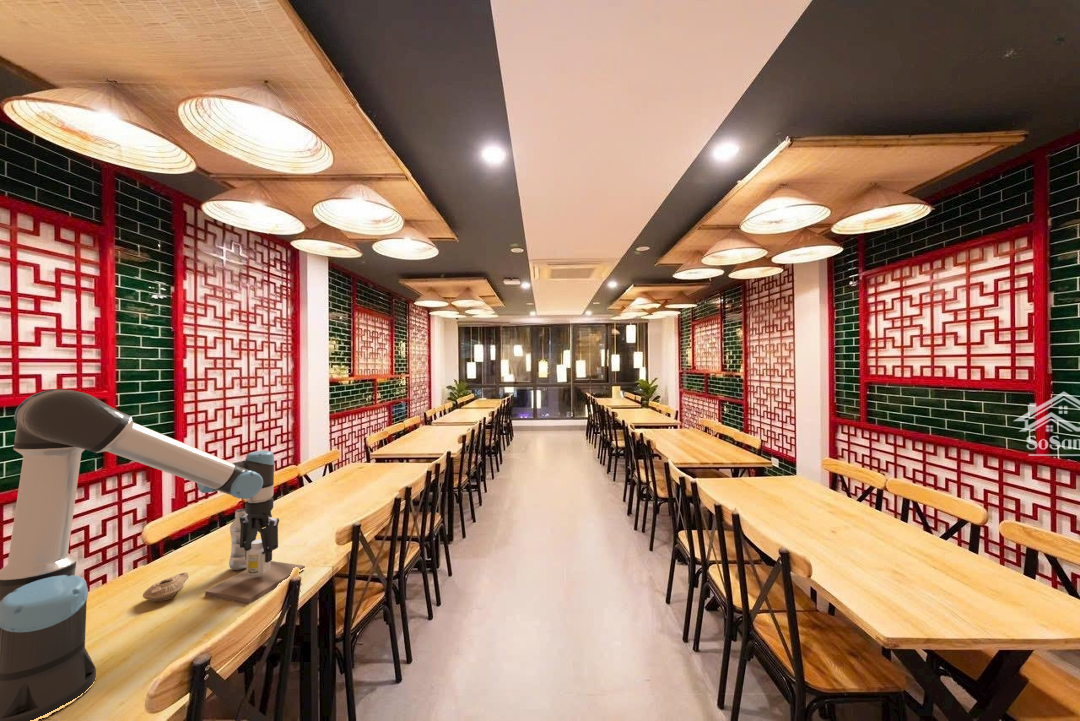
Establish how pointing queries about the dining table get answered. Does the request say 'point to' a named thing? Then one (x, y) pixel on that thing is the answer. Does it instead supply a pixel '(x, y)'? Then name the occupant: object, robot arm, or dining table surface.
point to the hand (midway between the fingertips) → (258, 570)
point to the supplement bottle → (255, 557)
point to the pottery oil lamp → (166, 588)
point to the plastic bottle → (237, 543)
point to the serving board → (252, 583)
